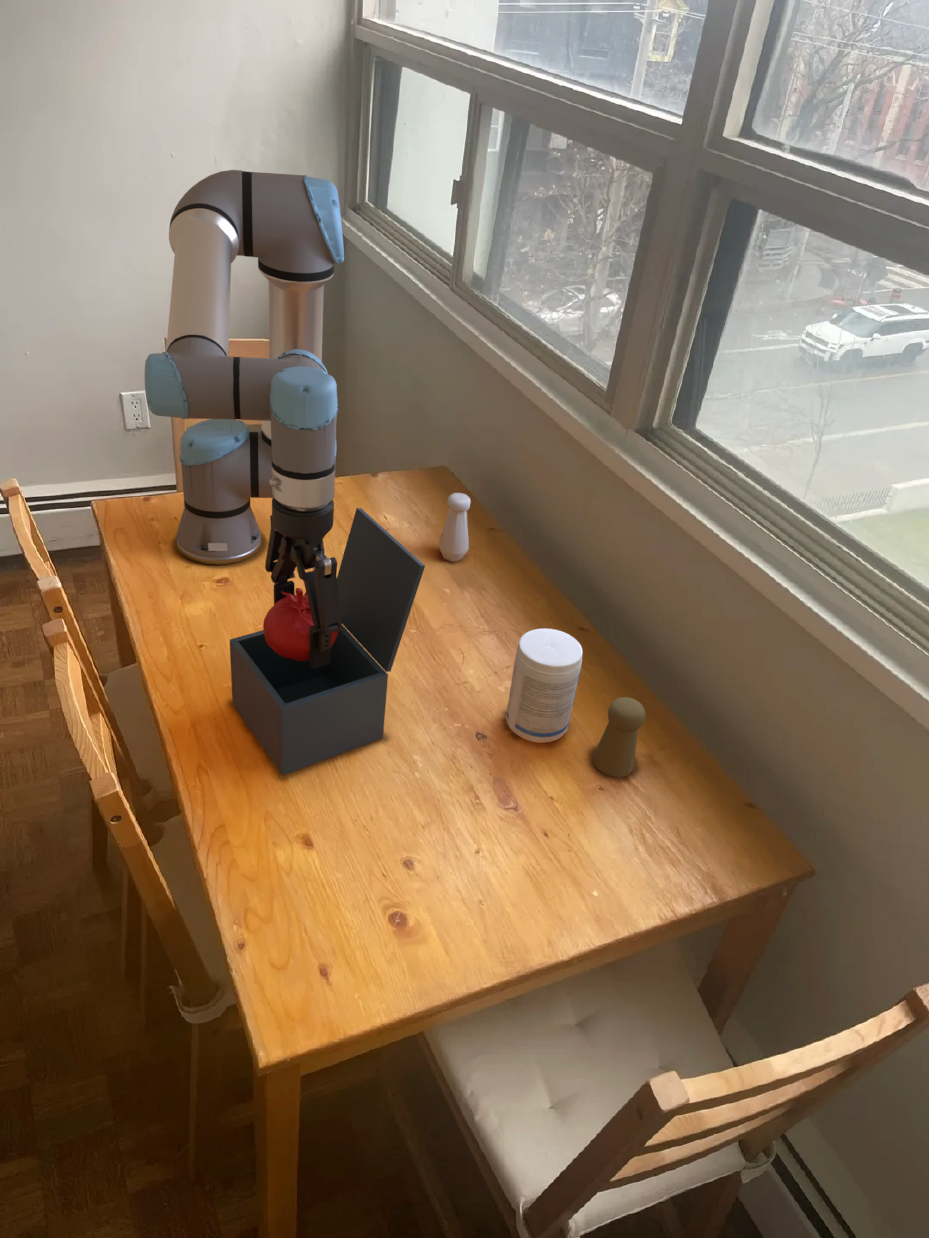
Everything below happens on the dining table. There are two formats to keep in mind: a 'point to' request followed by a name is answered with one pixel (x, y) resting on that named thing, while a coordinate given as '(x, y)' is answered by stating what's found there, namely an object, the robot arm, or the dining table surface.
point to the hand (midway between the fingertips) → (301, 643)
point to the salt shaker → (455, 528)
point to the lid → (376, 588)
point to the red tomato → (291, 627)
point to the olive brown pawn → (619, 738)
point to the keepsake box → (308, 700)
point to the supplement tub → (543, 685)
